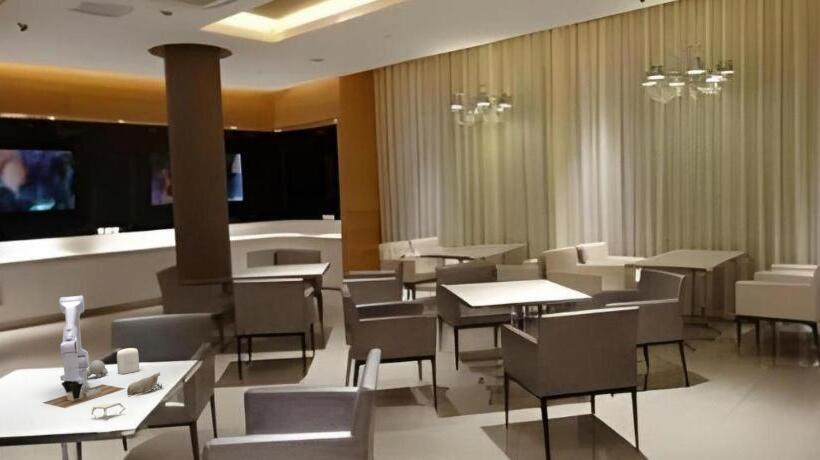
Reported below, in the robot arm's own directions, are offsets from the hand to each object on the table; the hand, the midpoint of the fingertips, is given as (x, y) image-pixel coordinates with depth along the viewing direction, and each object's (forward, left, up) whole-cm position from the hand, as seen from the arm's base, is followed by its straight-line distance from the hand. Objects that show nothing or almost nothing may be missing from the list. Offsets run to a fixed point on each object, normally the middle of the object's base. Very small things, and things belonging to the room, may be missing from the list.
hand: (73, 397), depth 299 cm
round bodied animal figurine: (-26, +27, -2) cm, 38 cm away
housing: (0, +6, -1) cm, 6 cm away
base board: (0, +5, -2) cm, 6 cm away
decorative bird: (+20, +22, -2) cm, 29 cm away
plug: (0, +1, -1) cm, 1 cm away
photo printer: (-18, +41, -2) cm, 45 cm away
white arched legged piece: (+34, -6, -2) cm, 35 cm away
